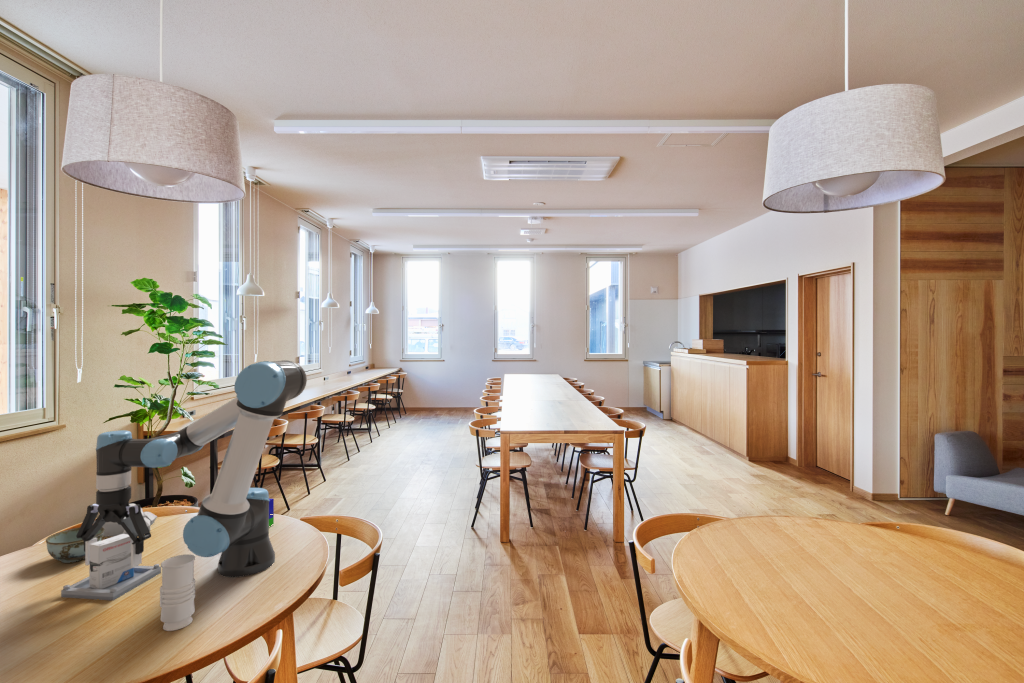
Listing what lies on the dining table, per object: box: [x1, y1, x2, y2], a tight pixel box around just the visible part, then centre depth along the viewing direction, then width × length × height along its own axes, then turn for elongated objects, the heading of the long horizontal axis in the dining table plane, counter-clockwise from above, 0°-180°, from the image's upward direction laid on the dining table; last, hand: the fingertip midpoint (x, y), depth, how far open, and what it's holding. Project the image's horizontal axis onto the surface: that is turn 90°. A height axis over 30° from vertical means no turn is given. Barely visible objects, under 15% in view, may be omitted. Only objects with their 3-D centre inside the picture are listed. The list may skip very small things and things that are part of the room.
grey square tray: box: [60, 563, 162, 601], centre depth 133 cm, size 15×15×3 cm
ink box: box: [88, 534, 134, 589], centre depth 133 cm, size 8×5×12 cm, turn 157°
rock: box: [93, 503, 158, 538], centre depth 171 cm, size 18×20×10 cm
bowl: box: [45, 527, 105, 564], centre depth 148 cm, size 14×13×8 cm
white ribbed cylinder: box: [159, 553, 196, 632], centre depth 115 cm, size 7×7×15 cm
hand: (113, 564), depth 133 cm, fingers open, 13 cm apart
